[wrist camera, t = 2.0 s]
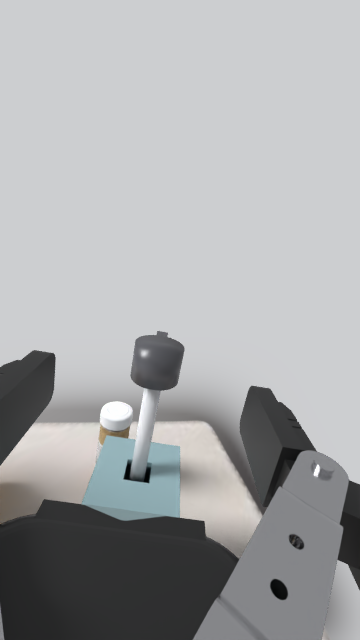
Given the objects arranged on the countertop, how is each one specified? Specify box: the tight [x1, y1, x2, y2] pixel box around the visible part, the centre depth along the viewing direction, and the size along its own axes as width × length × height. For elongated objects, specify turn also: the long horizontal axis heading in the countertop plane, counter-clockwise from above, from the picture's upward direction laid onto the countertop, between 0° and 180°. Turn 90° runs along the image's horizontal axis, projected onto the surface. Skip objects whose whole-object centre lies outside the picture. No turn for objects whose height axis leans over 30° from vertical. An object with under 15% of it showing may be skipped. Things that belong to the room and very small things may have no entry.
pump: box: [129, 331, 184, 482], centre depth 26 cm, size 6×4×14 cm, turn 179°
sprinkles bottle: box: [95, 402, 133, 466], centre depth 42 cm, size 5×5×13 cm
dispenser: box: [82, 435, 180, 521], centre depth 29 cm, size 8×8×17 cm
